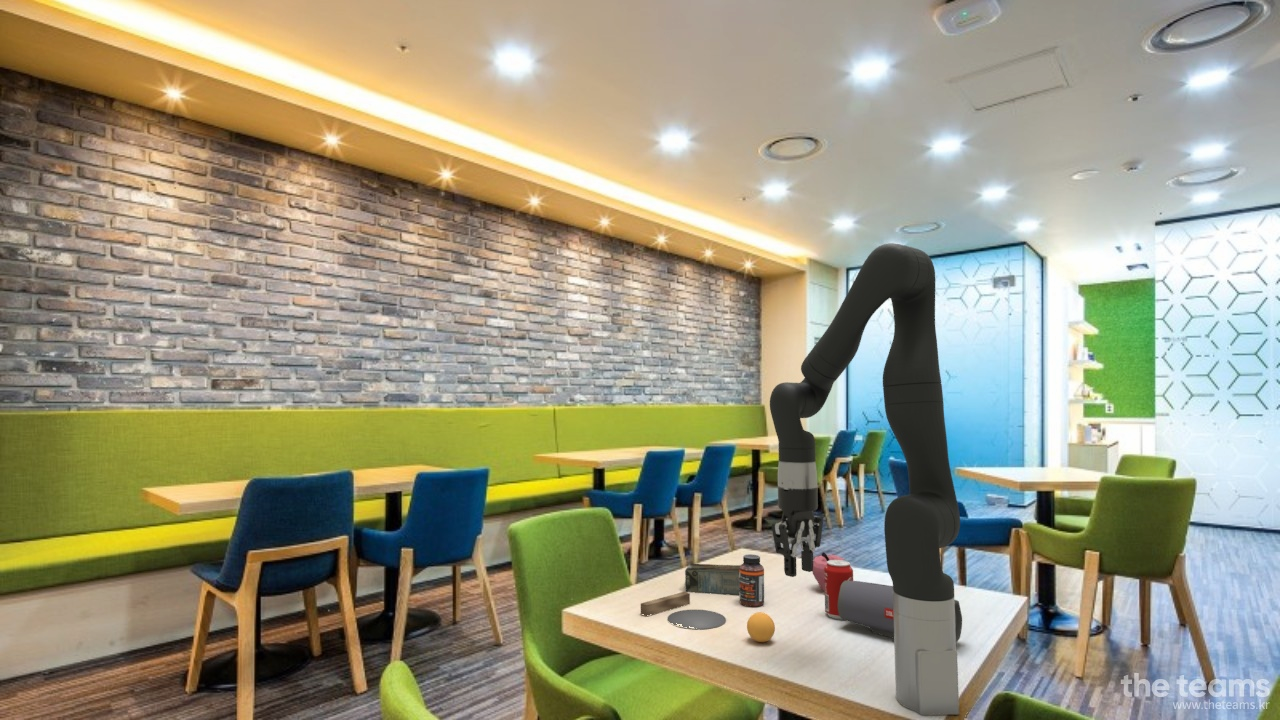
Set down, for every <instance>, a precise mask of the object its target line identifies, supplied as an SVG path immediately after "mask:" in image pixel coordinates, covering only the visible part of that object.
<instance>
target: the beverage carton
mask: <svg viewBox="0 0 1280 720" xmlns="http://www.w3.org/2000/svg"><path fill="white" fill-rule="evenodd" d="M740 565H741V564H739V565H737V564H736V565H733V564H707V563H689V565H688V566H687V567H686V568H685V569H684V575H685V577H684V578H685V579H684V580H685V581H684V585H685V592H686V593H693V592H695V594H709V595H726V594H730V596H731V595H732V596H739V568H740ZM710 593H711V594H710Z"/></svg>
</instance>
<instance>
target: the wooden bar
mask: <svg viewBox="0 0 1280 720" xmlns="http://www.w3.org/2000/svg"><path fill="white" fill-rule="evenodd" d="M690 593H691V592H686V591H682V592H679V593H674V594H670V595H667V596H663V597H659V598H657V599H652V600H649V601H648V600H647V601H645V602H644V601H643V602H641V603H640V615H641V614H644V615H646V616H647V615H650V614H654V613H658V614H660V613H659V612H661V613H664V612H667V611H666V610H668V611H671V610H674V609H673V608H675V609H678V608H681V606H682V607H685V606H688V605H691V598H690V597H691V594H690ZM684 605H685V606H684ZM677 607H678V608H677ZM670 609H671V610H670ZM663 611H664V612H663ZM654 615H655V614H654ZM646 616H645V617H646ZM647 617H648V616H647Z"/></svg>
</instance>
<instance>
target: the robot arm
mask: <svg viewBox="0 0 1280 720" xmlns="http://www.w3.org/2000/svg"><path fill="white" fill-rule="evenodd" d="M859 269H860V270H859V272H858V273H857V275H856V276H855V279H854V281H853V282H852V285H851V287H850V288H849V290H848V292H847V294H846V296H845V297H844V299H843V301H842V303H841V304H840V306H839V308H838V311H837V312H836V314H835V316H834V318H833V319H832V321H831V323H830V325H829V326H828V327H827V328H826V330H825V331H824V333H823V334H822V335H821V337H820V338H819V340H818V341H817V342H816V344H815V345H814V346H813V348H811V350H810V351H809V353H808V354H807V355H806V357H805V358H804V360H803V361H802V363H801V366H800V371H801V374H802V375H803V377H804V378H803V379H802V381H800V382H780V383H778V384H777V385H775V387H774V388H773V390H772V391H771V394H770V397H769V411H770V415H771V419H772V423H773V426H774V429H775V433H776V437H777V440H778V468H777V503H778V504H777V506H778V508H779V509H780V510H781V511H782V517H781V521H779V522H773V523H772V524H771V531H772V536H773V543H774V547H775V553H776V554H780V555H782V556H783V571H784V575H785V576H787V577H791V578H794V577H796V576H797V556H796V555H797V551H798V546H800V548H801V551H800V555H801V556H800V557H801V570H802V571H805V572H808V573H810V572H811V573H812V571H813V561H814V552H815V551H816V548H820V547H821V544H822V543H821V542H822V541H821V540H822V533H823V532H822V531H823V523H824V517H823V516H817V515H814V512H815V511H817V509H818V507H819V504H818V503H819V501H818V498H819V497H818V472H817V464H816V440H815V436H814V434H813V433H811V432H810V431H807V430H805V429H804V428H803V424H802V420H801V419H808V418H811V417H813V416H815V415H817V414H818V413H819V412H820V411H821V410H822V408H823V407H824V405H825V403H826V402H827V399H828V398H829V395H830V393H831V391H832V388H833V385H834V383H835V381H837V380H838V378H839V377H840V376H841V375H842V373H843V372H844V371H845V370H846V369H847V368H848V366H849V365H850V363H852V361H853V359H854V358H855V356H856V354H857V352H858V350H859V347H860V345H861V341H862V338H863V334H864V332H865V329H866V326H867V324H868V323H869V321H870V320H871V318H872V316H873V315H874V314H875V312H877V311H878V309H880V308H881V306H882V305H884V303H885V302H886V301H888V300H889V299H890V300H891V305H892V312H893V313H892V314H893V322H894V323H893V324H894V325H893V326H894V330H893V331H894V332H893V338H892V341H891V342H892V343H891V346H890V349H889V352H888V353H887V354H888V355H887V357H886V361H885V364H884V367H883V372H882V390H883V393H882V394H883V402H884V410H885V411H884V413H885V416H886V419H887V422H888V425H889V427H890V429H891V431H892V433H893V436H894V437H895V439H896V442H897V443H898V445H899V447H900V450H901V451H902V453H903V456H904V459H905V462H906V467H907V473H908V475H907V476H908V485H909V486H908V489H909V490H908V491H909V493H908V494H905V495H901V496H898V497H896V498H895V499H893V500H892V501H891V502H889V505H888V506H887V508H886V512H885V513H884V514H885V515H884V523H883V524H884V527H883V528H884V544H885V545H884V546H885V557H886V559H885V560H886V567H887V572H888V574H889V577H890V579H891V582H892V586H893V613H894V638H893V640H894V641H893V643H894V674H895V698H896V700H897V702H898V703H899V704H901V705H902V706H903V707H906V708H908V709H910V710H913V711H915V712H916V713H917V714H919V715H923V716H925V715H927V716H928V715H930V716H931V715H932V716H933V715H934V716H935V715H939V716H940V715H960V700H959V697H960V696H959V695H960V694H959V674H958V673H959V671H958V670H959V669H958V667H959V666H958V663H959V662H958V653H957V643H956V633H955V600H956V599H955V584H954V580H953V578H952V576H950V575H949V574H947V573H944V571H943V570H942V563H941V561H942V560H941V552H940V549H942V548H946V547H948V546H949V545H951V544H952V543H953V542H954V541H955V540H956V539H957V538H958V535H959V532H960V530H961V529H960V528H961V515H960V510H959V504H958V499H957V496H956V495H957V494H956V491H955V485H954V481H953V477H952V472H951V467H950V459H949V450H948V449H949V447H948V439H947V430H946V420H945V410H944V408H945V407H944V404H945V403H944V395H943V394H944V393H943V385H942V379H941V378H942V377H941V371H940V363H939V360H940V359H939V351H938V350H939V349H938V339H937V330H936V271H935V266H934V262H933V261H932V259H931V257H930V256H929V255H928V253H926V252H925V251H923V250H921V249H919V248H915V247H912V246H908V245H903V244H900V243H894V242H892V243H891V242H890V243H889V242H888V243H884V244H881V245H879V246H877V247H875V248H874V249H873V250H872V251H871V252H870V253H869V255H868V256H867V257H866V259H865V260H864V262H863V264H862V266H861V267H860V268H859ZM790 545H791V546H790Z"/></svg>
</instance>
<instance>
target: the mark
mask: <svg viewBox="0 0 1280 720" xmlns="http://www.w3.org/2000/svg"><path fill="white" fill-rule="evenodd" d="M667 621H669V622H670V623H673V624H674V625H677V624H682V626H683V627H687V628H689V626H690V627H694V628H695V629H694V630H698V629H700V630H710V629H715V628H719V627H721V626H723V625H725V624H726V623H727V618H726V617H725V616H724V615H723V614H721V613H719V612H716V611H712V610H708V609H707V610H705V609H683V610H677V611H674V612H672V613H670V614H669V615H668V616H667ZM669 622H668V623H669ZM670 623H669V624H670ZM676 623H677V624H676ZM674 625H673V626H674ZM679 626H680V625H679ZM696 628H697V629H696Z"/></svg>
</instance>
